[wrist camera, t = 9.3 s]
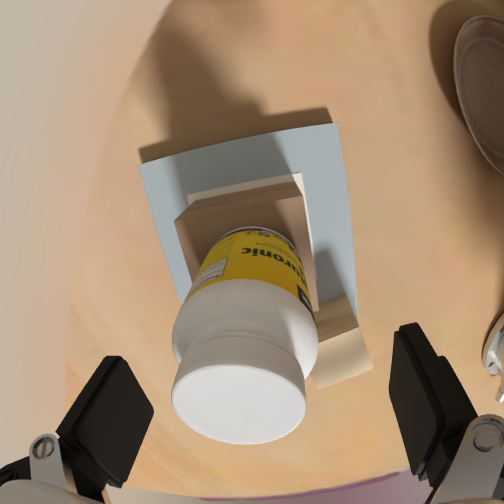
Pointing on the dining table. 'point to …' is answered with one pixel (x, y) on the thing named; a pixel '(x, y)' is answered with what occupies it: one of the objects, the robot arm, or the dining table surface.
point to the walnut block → (247, 224)
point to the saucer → (482, 83)
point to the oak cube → (338, 344)
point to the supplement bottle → (245, 340)
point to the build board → (259, 175)
